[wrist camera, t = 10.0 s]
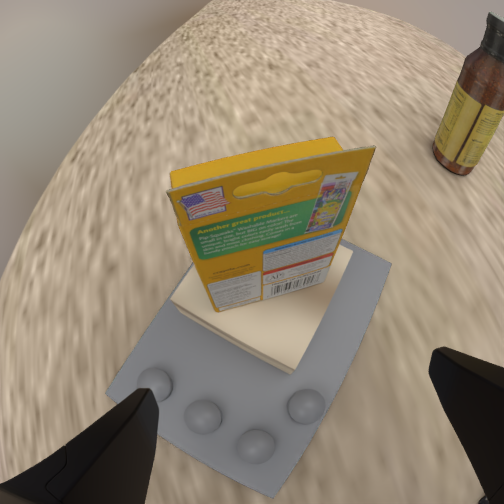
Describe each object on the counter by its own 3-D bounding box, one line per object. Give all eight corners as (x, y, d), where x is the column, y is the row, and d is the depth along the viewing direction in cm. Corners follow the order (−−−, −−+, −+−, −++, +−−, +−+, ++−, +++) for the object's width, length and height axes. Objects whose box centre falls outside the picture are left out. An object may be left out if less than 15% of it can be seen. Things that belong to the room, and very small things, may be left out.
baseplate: (272, 494, 16) (273, 502, 15) (110, 394, 20) (100, 392, 18) (387, 268, 24) (395, 259, 23) (243, 200, 28) (242, 188, 26)
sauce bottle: (473, 159, 31) (534, 37, 14) (468, 186, 29) (545, 49, 11) (432, 133, 33) (481, 4, 16) (423, 157, 31) (482, 9, 13)
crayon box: (309, 244, 21) (343, 99, 11) (325, 282, 20) (382, 148, 10) (204, 271, 20) (156, 134, 10) (215, 314, 19) (163, 195, 9)
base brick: (290, 374, 20) (294, 369, 17) (180, 312, 22) (169, 298, 19) (343, 269, 23) (353, 251, 21) (243, 221, 26) (241, 199, 23)
